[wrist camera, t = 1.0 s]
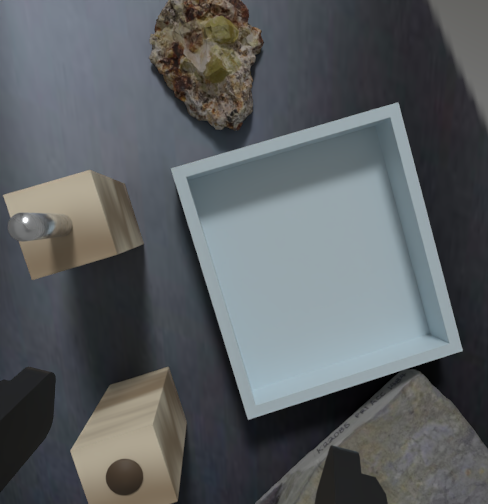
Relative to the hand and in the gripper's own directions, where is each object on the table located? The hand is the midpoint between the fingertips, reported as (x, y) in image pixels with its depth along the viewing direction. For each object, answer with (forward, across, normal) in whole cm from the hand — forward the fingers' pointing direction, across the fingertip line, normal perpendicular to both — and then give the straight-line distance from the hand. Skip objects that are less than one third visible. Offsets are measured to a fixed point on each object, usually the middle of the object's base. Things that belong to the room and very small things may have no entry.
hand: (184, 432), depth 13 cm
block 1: (+21, +12, +1) cm, 24 cm away
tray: (+24, -4, +2) cm, 24 cm away
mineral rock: (+26, +7, -11) cm, 29 cm away
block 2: (+18, +6, +14) cm, 24 cm away
